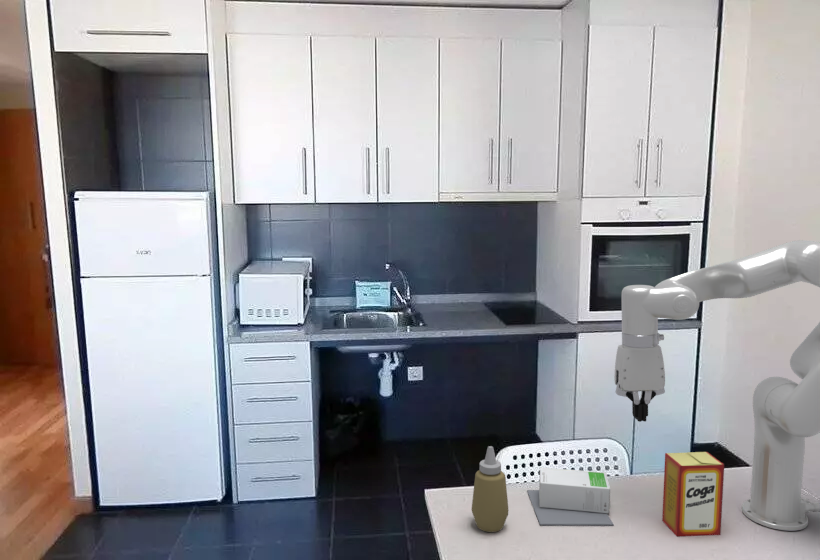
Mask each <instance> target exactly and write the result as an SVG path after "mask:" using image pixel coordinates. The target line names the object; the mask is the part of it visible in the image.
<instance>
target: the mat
mask: <svg viewBox="0 0 820 560" xmlns="http://www.w3.org/2000/svg"><path fill="white" fill-rule="evenodd" d="M526 492H527V495H528V498H529V501H530V503H531V505H532V506H531V507H532V508H533V511H534V513H535V516H536V518H537V522H538V524H539V526H540V527H545V526H546V527H615V526H614V525H615V524H614V523H613V521H612V519H611V517H610V516H609V514H608V513H599V512H588V511H578V510H567V509H556V508H545V507H539V489H527V490H526Z"/></svg>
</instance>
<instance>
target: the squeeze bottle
mask: <svg viewBox="0 0 820 560" xmlns="http://www.w3.org/2000/svg"><path fill="white" fill-rule="evenodd" d="M507 490H508V489H507V478H506V473H504V471H502V463H501V461H499V460H497V459H496V453H495V450H494V446H492V445H490V446H489V445H488V446H487V449H486V454H485V457H484V459H482V460H480V462H479V470H477V471H476V472H475V474H474V483H473V492H472V493H473V494H472V501H471V512H472V516H473V519H474V522H475V525H476V527H477V528H478V529H479V530H480V531H483V532H487V533H495V532H500V531H501V530H502V529H503V528H504V526H505V523H506V520H507V518H508V515H509V501H508V491H507Z"/></svg>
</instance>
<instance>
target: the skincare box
mask: <svg viewBox="0 0 820 560" xmlns="http://www.w3.org/2000/svg"><path fill="white" fill-rule="evenodd" d="M538 485H539V486H538V487H539V489H538V490H539V507H545V508H556V509H567V510H578V511H588V512H599V513H607V514H608V515H609V514H610V507H611V487H610V483H609V479H608V473H607V471H606V472H603V471H594V470H593V471H591V470H580V469H578V470H577V469H566V468H564V469H563V468H552V467H541V466H540V467H539V483H538Z"/></svg>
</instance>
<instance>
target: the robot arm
mask: <svg viewBox="0 0 820 560" xmlns="http://www.w3.org/2000/svg"><path fill="white" fill-rule="evenodd" d="M799 282H803V283H807V284H810V285H813V286H815V287H818V288H820V242H819V241H811V240H803V239H802V240H801V239H799V240H793V241H789V242H786V243H783V244H780V245H776V246H774V247H770V248H768V249H764V250H762V251H759V252H755V253H753V254H750V255H746V256H744V257H740V258H737V259H734V260H731V261H726V262H722V263H718V264H715V265H711V266H707V267H703V268H699V269H693V270H691V271H687V272H684V273H682V274H678V275H675V276H673V277H670V278H667V279H664V280H662V281H660V282H659V283H657V284H656V285H655V286H652V285H648V284H632V285H627V286H625V287H623V288H622V290H621V344H618V346H617V349H616V355H615V365H614V375H613V376H614V380H613V381H614V385H615V386H616V388H615V392H614V393H615V394H616V395H617V396H619V397H624V398H628V399H629V400H630V401H631V405H632V406H631V407H632V408H631V409H632V410H631V411H632V417H633V418H635V420H637V422H639V423H640V422H647V417H649V404H650V403H651V401H652V400H653V399H654V398H655V397H656V396H659V395H664V394H665V393H666V391H665V386H666V373H665V372H666V371H665V362H664V357H663V352H662V347H661V345H659V344H660V342H661V341H664V340H665V336H664V334H661V333H659V330H658V329H659V328H658V327H659V324H658V322H659V320H658V319H659V318H660V319H667V320H676V321H677V320H678V321H680V320H682V321H683V320H687V319H690V318H691V317H693V316H694V315H695V314H697V312H698V311H699V307H700V303H701V302H705V301H711V300H716V299H747V298H751V297H755V296H758V295H761V294H764V293H766V292H770V291H773V290H776V289H779V288H783V287H786V286H788V285H789V286H790V285H791V284H795V283H799ZM789 366H790V368H791V370H792V372H793V373H794V375H796V376H797V377H798V378H800V379H801V380H800V382H799V383H797V382H795V381H793V380H791V379H788V378H786V377H783V376H771V377H767V378H764V379H762V380H761V381H760V382H759V383H758V384H757V385H756V386H755V389H754V390H753V394H752V410H753V419H754V420H753V421H754V423H753V425H754V435H753V436H754V437H753V452H752V453H753V454H752V469H751V483H750V484H751V486H750V498H749V499H747V500H745V501H743V502H742V504H741V511H742V513H743V514H744V516H746V517H747V518H748V519H749V520H751V521H752V522H754V523H757V524H758V525H762V526H764V527H767V528H770V529H775V530H779V531H786V532H787V531H791V532H792V531H800V530H803V529H805V528H807V527H808V524H809V518H808V516H807V514H809V513H810V512H812V513H820V502H810V500H809V498H802V491H803V490H802V488H803V477H804V476H803V474H804V462H805V461H804V459H805V451H806V450H805V449H806V438H810V437H814V436H816V435H818V434H819V433H820V321H819V322H818V323H817V324H816V326H815V327H814V328H813V329H812V330H811V331H810V333H809V334H808V335H807V336H806V337H805V338H804V339H803V341H802V342H801V343H800V344H799V345H798V347H796V348H795V350H794V351H793V352H792V354H791V356H790V359H789ZM639 392H640V395H639ZM639 396H640V397H639Z"/></svg>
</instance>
